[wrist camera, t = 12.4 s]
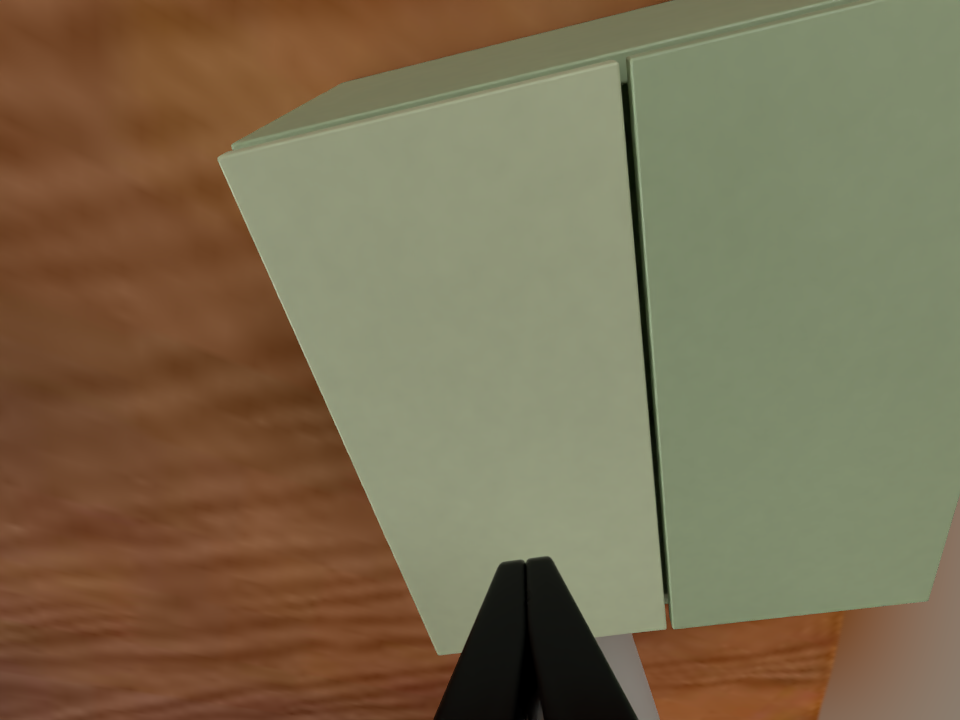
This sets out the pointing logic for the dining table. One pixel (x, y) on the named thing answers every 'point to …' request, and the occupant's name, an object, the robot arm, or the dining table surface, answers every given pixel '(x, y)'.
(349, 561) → the dining table surface
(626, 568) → the flap
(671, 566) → the carton
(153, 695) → the dining table surface
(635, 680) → the cup
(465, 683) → the robot arm
